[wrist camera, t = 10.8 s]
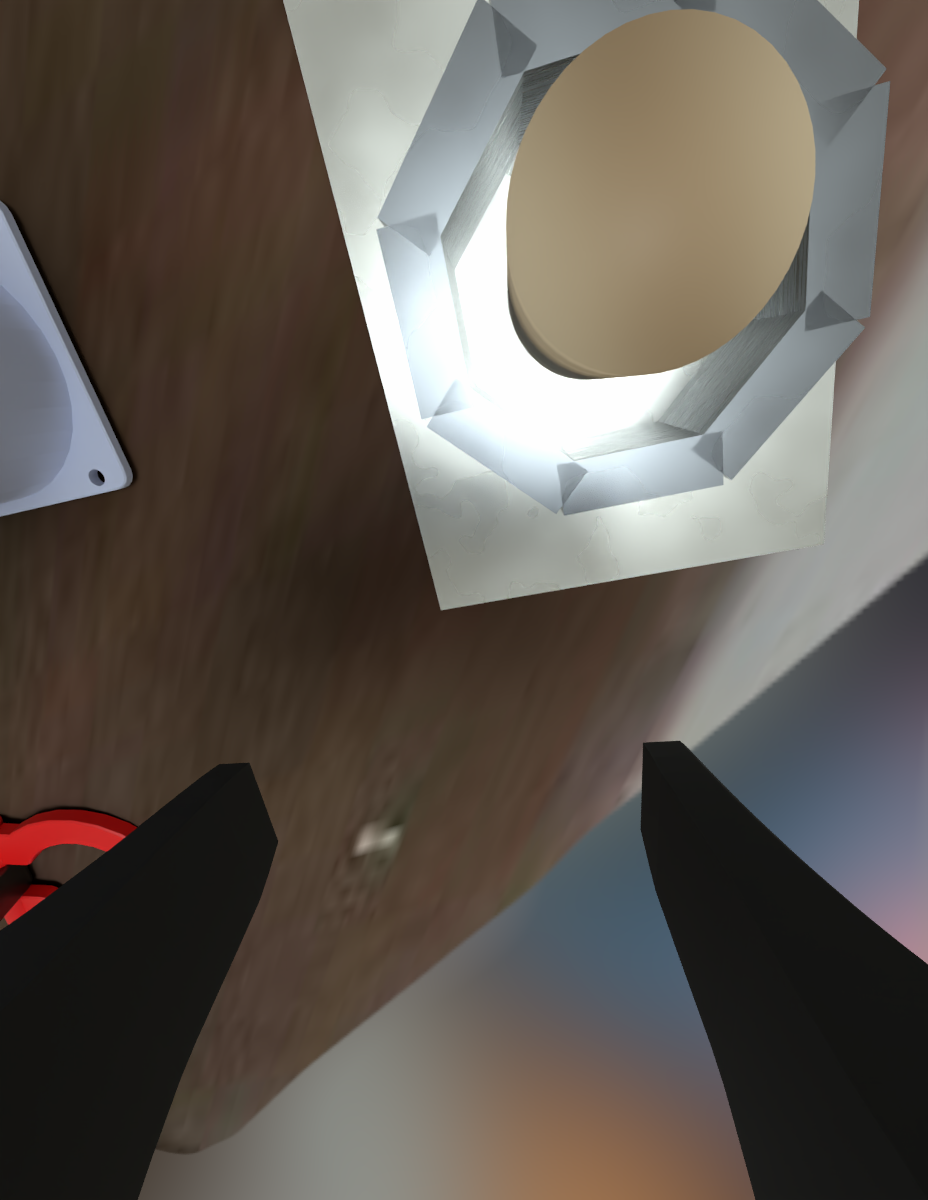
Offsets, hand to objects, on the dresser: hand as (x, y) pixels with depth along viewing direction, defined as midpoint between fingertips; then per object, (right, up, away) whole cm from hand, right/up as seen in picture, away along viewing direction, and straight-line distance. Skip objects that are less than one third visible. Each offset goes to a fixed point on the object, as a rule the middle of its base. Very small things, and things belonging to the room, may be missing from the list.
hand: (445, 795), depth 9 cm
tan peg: (+4, +12, +4) cm, 13 cm away
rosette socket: (+4, +12, +5) cm, 13 cm away
